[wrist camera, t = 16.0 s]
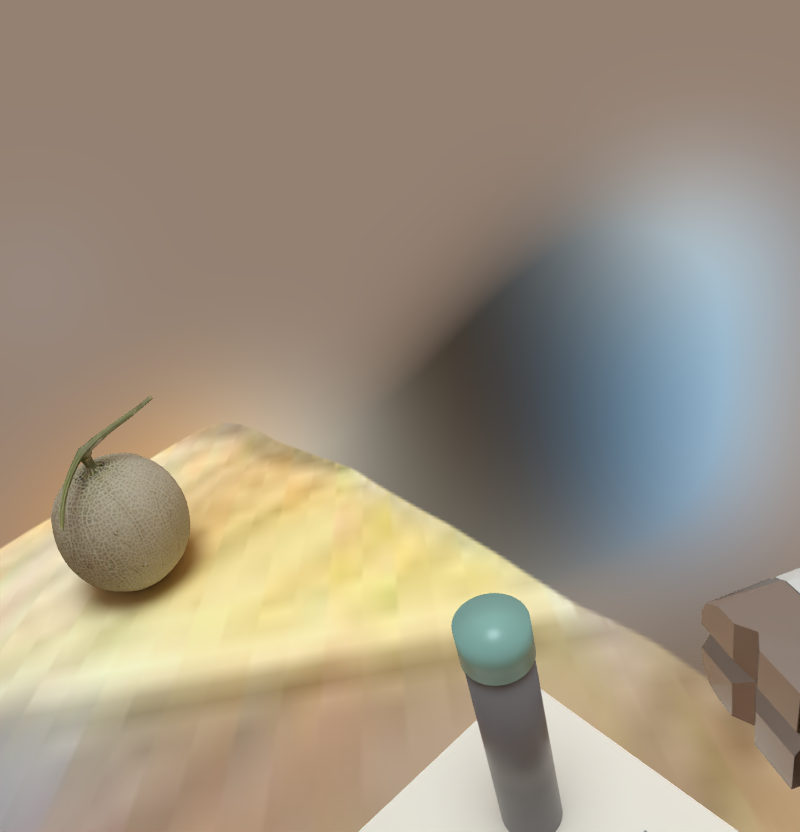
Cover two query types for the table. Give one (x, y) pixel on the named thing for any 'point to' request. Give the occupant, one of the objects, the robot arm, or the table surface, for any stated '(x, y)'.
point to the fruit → (120, 518)
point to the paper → (577, 781)
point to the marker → (509, 709)
